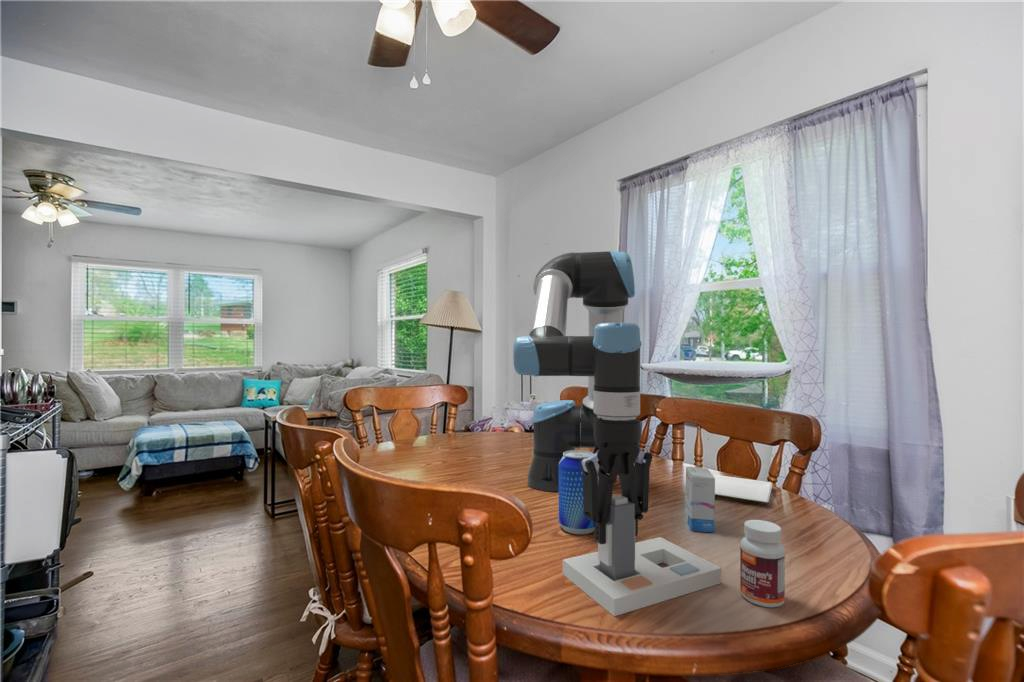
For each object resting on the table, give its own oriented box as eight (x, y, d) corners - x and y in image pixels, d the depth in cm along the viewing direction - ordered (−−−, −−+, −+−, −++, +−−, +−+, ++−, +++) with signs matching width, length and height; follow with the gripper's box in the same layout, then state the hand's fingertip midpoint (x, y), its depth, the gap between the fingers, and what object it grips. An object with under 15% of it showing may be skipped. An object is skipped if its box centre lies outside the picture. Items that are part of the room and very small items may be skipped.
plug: (599, 572, 78) (599, 495, 78) (618, 567, 80) (618, 492, 80) (614, 583, 75) (614, 502, 75) (634, 578, 76) (634, 498, 77)
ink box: (715, 533, 99) (715, 477, 99) (690, 531, 100) (690, 475, 100) (707, 518, 107) (707, 466, 107) (684, 517, 108) (684, 465, 108)
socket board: (562, 574, 81) (562, 557, 81) (660, 550, 91) (660, 535, 91) (614, 616, 69) (614, 597, 69) (721, 583, 78) (721, 566, 78)
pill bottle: (735, 599, 73) (735, 526, 73) (746, 584, 78) (745, 515, 78) (780, 613, 69) (780, 536, 69) (788, 596, 74) (788, 524, 74)
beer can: (602, 524, 104) (602, 451, 104) (592, 538, 96) (592, 459, 96) (565, 518, 107) (565, 447, 107) (553, 531, 100) (553, 455, 100)
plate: (772, 489, 130) (772, 482, 130) (768, 510, 114) (768, 501, 114) (700, 479, 140) (700, 472, 140) (687, 496, 124) (687, 488, 124)
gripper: (586, 423, 71) (586, 580, 70) (672, 416, 78) (672, 558, 78) (560, 416, 77) (560, 560, 77) (641, 410, 85) (641, 541, 85)
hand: (616, 559), depth 78 cm, fingers closed on plug, 4 cm apart
